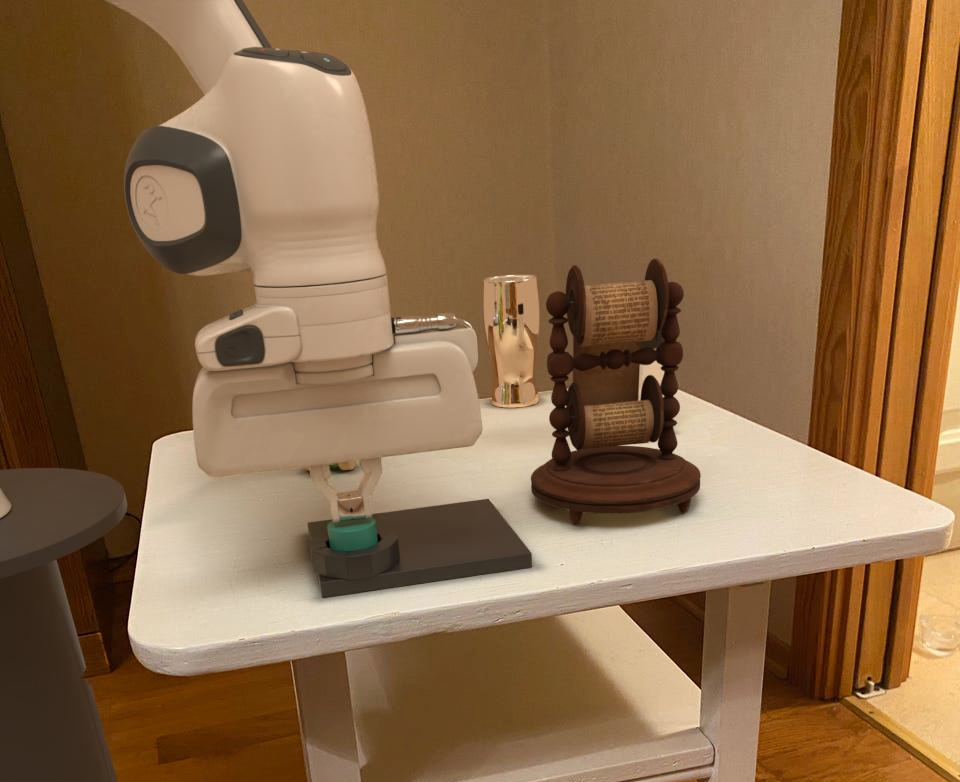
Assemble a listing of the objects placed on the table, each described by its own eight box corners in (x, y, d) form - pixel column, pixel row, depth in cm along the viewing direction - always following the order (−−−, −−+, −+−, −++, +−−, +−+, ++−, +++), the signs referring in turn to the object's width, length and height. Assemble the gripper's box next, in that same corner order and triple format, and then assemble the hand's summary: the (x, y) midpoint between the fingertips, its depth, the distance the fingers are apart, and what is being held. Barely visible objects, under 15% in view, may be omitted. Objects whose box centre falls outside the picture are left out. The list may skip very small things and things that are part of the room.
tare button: (332, 556, 70) (329, 534, 69) (328, 540, 73) (325, 518, 73) (381, 550, 71) (378, 527, 70) (374, 534, 74) (372, 512, 73)
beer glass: (538, 408, 119) (534, 280, 112) (483, 409, 120) (476, 282, 113) (545, 395, 125) (541, 273, 118) (492, 396, 126) (486, 275, 120)
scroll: (667, 470, 93) (673, 248, 84) (725, 519, 80) (740, 262, 71) (517, 486, 91) (507, 261, 82) (551, 539, 78) (544, 278, 69)
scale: (318, 599, 70) (313, 561, 69) (306, 535, 82) (301, 502, 81) (533, 568, 73) (531, 531, 71) (489, 511, 85) (487, 478, 84)
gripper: (466, 304, 70) (478, 488, 76) (176, 332, 66) (214, 523, 72) (486, 315, 64) (497, 512, 70) (171, 346, 60) (212, 551, 67)
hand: (351, 518), depth 71 cm, fingers closed
